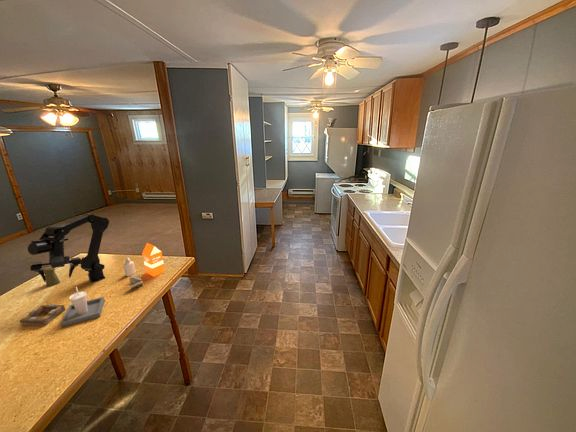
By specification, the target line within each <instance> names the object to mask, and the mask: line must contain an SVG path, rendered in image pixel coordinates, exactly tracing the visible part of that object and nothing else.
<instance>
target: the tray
mask: <svg viewBox="0 0 576 432" xmlns="http://www.w3.org/2000/svg"><path fill="white" fill-rule="evenodd" d="M104 297H105V296H101V297H97V298H93V299H89V300H87V307H88V311H87V312H86V313H84V314H78V313H77V311H76V309H75V307H74V305H73V304H72V303H71V304H70V305H69V304H68V306H67V309H66V310H65V311H66V312H65V313H64V316H63V317H62V320H61V322H60V325H61V328H65V327H69V326H72V325H75V324H76V325H77V324H80V323H84V322H87V321H91V320H94V319H97V318H100V317H101V314H102V312H103V308H104V304H105V298H104Z"/></svg>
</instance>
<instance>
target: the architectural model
mask: <svg viewBox="0 0 576 432" xmlns="http://www.w3.org/2000/svg"><path fill="white" fill-rule="evenodd" d="M128 280H129V283H128V284H127V286H128V287H129V288H130V289H134V288H136V287H138V288H140V286H144V282H143V280H142V277H141V274H136V275H134V276H130V277H129V278H128Z"/></svg>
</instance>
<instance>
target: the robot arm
mask: <svg viewBox="0 0 576 432" xmlns="http://www.w3.org/2000/svg"><path fill="white" fill-rule="evenodd" d="M86 223H89V224H90V227H91V230H92V234H91V237H90V242H89V245H88V251H87V255H85V257H79V256H78V257H77V256H76V257H71V258H70V256H69V255H68V256H67V255H66V256H65V241H69V238H67V237H65V236H67V235H68V234H69V233H70V232H71V231H72V230H74V229H76V228H78V227H80V226H83V225H84V224H86ZM109 224H110V220H109V219H108V218H107V217H103V216H98V215H95V214H93V213H83V214H81V215H80V216H78V217H76V218H73V219H70V220H68V221H67V222H63V223H59V224H54V225H50V226H48V227H46V228H45V231H44V232H43V234H42V235H41V236H40V238H39V239H38V240H37V239H35V240H31V241H30V243H29V244H28V246H27V252H28V253H29V254H30V255H32V256H35V255H41V254H46V253H48V262H42V261H37V262H32V263H30V266H29V267H30V268H29V269H30V272H33V271H34V273H35V272H36V273H37V272H38V274H39V275H40V276H41V279H42V280H43V282H44V283H46V279H45V274H44V271H43V268H45V267H48V266H51V267H52V268H55V269H56V268H63V267H65V266H66V265H68V264H69V268H68V278H71V277H72V275H73V272H74V270H75V268H76V267H78V266H79V265H80V268H81V269H82V270H84V271H85V272H87V277H88V280H89V281H90V282H91V283H95V282H98V281H102V280H103V279H106V276H105V275H104V271H103V270H104V269H105V264H102V263H100V261H101V260H100V256H99V253H100V249H101V244H102V239H103V236H104V232H105V231H106V230H107V229H108V226H109Z"/></svg>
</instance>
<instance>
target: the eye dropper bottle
mask: <svg viewBox="0 0 576 432" xmlns="http://www.w3.org/2000/svg"><path fill="white" fill-rule="evenodd" d="M124 262H125V263H124V264H123V269H124V274H125V276H126V277H129V276H130V277H131V276H132V275H135V274H136V273H137V272H136V266H135V262H134V261H133V260H132V261H131V258H129V257H128V256H126V259H125V261H124Z"/></svg>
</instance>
